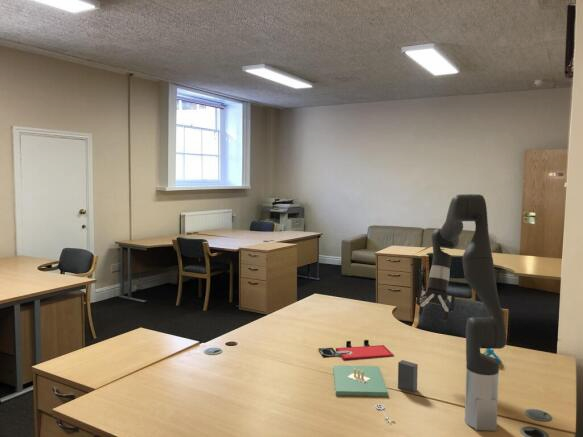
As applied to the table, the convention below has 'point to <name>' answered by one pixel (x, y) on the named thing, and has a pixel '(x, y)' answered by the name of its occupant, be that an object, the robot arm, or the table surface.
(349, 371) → the header board
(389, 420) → the key
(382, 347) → the red board with handle
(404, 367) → the block
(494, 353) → the gear
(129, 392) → the table surface
